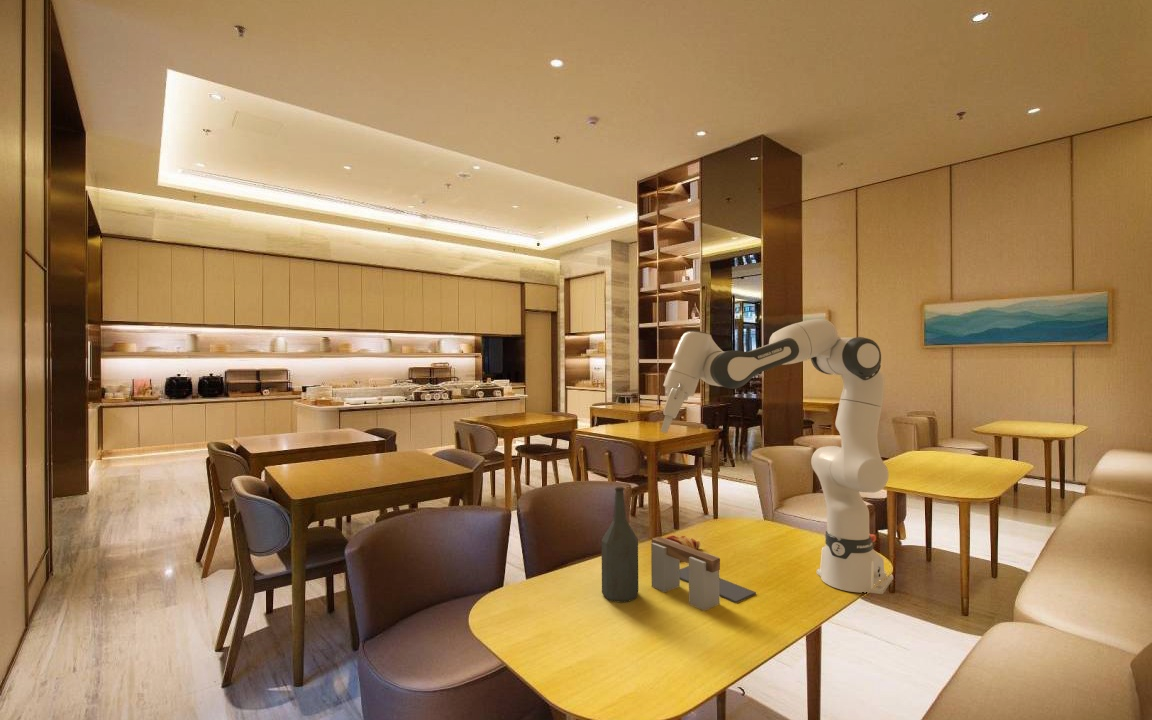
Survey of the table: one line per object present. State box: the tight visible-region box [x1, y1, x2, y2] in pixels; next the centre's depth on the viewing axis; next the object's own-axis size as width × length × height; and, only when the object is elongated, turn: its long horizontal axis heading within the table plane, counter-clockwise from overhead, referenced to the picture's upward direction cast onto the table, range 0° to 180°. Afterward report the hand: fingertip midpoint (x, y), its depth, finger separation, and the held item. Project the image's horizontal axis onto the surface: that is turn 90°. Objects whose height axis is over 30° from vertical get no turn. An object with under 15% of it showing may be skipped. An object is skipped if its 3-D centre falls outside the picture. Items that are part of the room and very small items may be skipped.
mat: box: [680, 565, 757, 604], centre depth 152 cm, size 9×24×1 cm, turn 37°
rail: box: [650, 536, 721, 573], centre depth 146 cm, size 3×22×3 cm, turn 37°
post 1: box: [650, 539, 681, 593], centre depth 151 cm, size 6×5×12 cm
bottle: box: [601, 486, 639, 603], centre depth 146 cm, size 10×10×30 cm
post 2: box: [688, 551, 721, 612], centre depth 140 cm, size 6×5×12 cm
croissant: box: [663, 534, 701, 550], centre depth 177 cm, size 21×10×8 cm, turn 125°
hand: (663, 432), depth 145 cm, fingers open, 8 cm apart
